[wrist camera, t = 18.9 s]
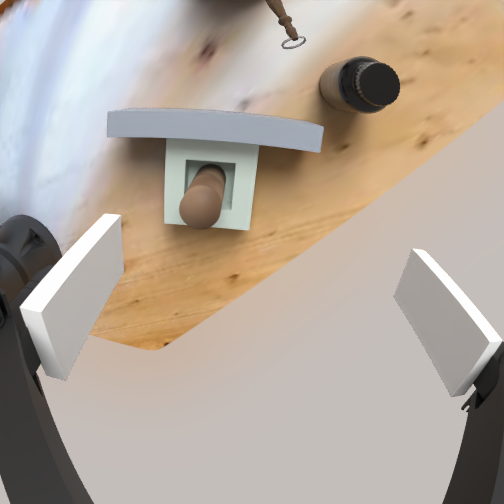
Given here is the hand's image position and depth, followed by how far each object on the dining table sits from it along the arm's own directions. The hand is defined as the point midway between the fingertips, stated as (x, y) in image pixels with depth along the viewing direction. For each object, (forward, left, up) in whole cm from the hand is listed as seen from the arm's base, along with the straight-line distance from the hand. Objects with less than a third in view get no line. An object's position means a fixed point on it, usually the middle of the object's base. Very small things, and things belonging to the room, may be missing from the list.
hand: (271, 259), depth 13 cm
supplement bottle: (+11, +10, -31) cm, 34 cm away
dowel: (-5, -4, -29) cm, 29 cm away
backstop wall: (-5, +3, -31) cm, 31 cm away
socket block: (-5, -4, -31) cm, 31 cm away
